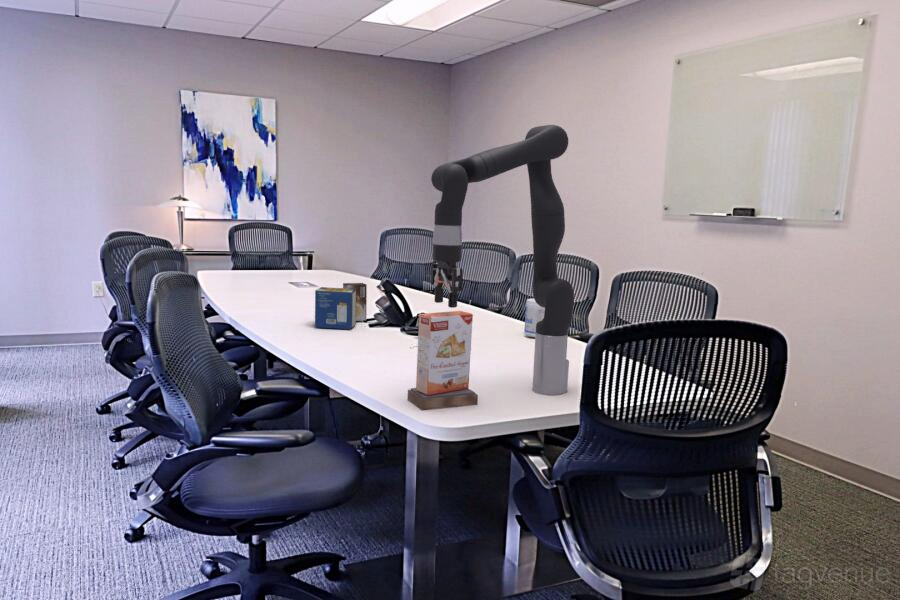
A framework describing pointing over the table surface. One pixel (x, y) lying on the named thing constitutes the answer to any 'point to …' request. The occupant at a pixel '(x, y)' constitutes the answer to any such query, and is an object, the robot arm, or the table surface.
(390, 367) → the table surface
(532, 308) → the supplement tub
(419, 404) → the podium
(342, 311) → the protein box
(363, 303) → the coffee box
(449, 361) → the cracker box
